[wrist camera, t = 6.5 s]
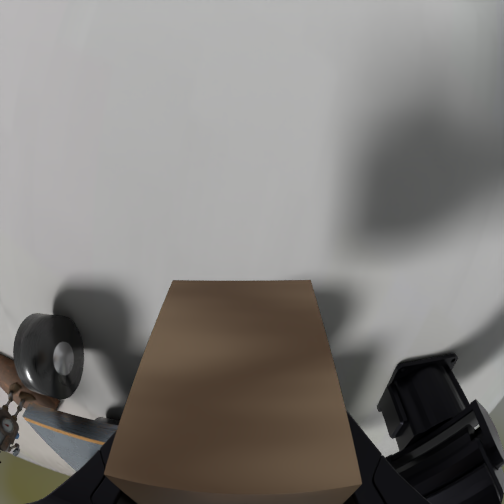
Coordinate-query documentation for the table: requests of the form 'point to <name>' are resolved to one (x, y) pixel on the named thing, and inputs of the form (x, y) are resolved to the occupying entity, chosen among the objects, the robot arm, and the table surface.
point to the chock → (236, 402)
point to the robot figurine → (3, 424)
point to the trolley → (57, 386)
